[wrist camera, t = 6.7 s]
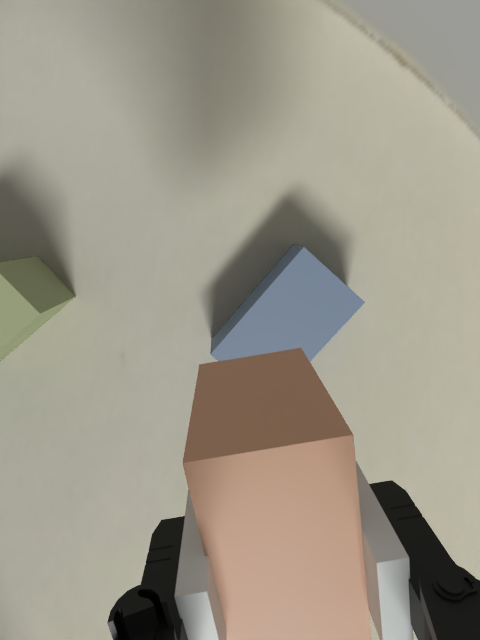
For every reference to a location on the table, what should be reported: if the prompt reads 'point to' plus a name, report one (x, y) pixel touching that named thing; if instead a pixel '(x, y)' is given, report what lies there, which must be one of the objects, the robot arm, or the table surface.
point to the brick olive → (27, 300)
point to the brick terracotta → (277, 500)
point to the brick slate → (288, 310)
